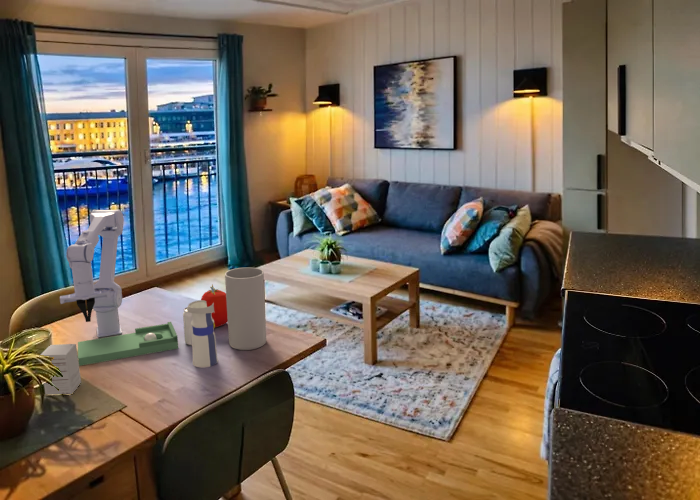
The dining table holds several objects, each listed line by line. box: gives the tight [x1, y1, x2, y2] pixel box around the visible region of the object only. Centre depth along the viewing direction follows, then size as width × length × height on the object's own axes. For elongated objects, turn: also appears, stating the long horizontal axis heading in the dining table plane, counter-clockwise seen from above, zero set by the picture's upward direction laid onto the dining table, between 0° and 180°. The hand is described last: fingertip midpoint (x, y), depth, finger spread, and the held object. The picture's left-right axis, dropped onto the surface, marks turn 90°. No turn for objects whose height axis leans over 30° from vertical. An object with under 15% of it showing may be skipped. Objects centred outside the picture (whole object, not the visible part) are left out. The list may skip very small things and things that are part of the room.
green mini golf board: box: [77, 321, 179, 367], centre depth 187 cm, size 14×30×4 cm, turn 115°
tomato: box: [200, 288, 228, 328], centre depth 205 cm, size 13×11×14 cm
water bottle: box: [186, 283, 219, 369], centre depth 175 cm, size 8×9×25 cm
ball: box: [144, 333, 157, 341], centre depth 190 cm, size 4×4×4 cm
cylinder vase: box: [224, 267, 267, 351], centre depth 188 cm, size 12×12×25 cm
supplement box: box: [40, 343, 82, 395], centre depth 159 cm, size 7×7×13 cm
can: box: [182, 307, 193, 346], centre depth 191 cm, size 6×6×12 cm
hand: (88, 320), depth 184 cm, fingers closed
